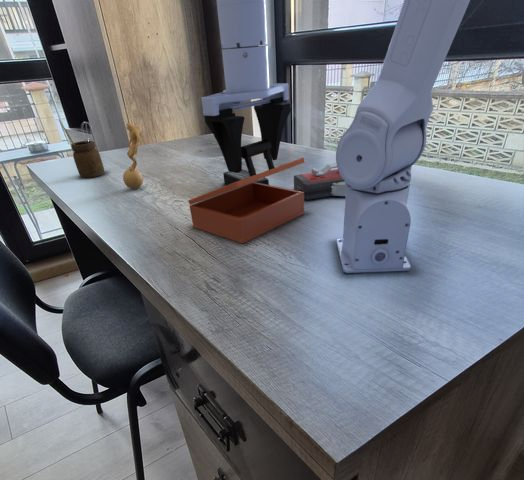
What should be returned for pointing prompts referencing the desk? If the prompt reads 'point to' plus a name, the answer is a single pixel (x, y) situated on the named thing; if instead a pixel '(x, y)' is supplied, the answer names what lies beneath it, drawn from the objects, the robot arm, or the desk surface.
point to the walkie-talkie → (320, 183)
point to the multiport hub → (241, 177)
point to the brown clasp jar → (86, 157)
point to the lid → (251, 168)
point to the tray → (247, 211)
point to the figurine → (133, 158)
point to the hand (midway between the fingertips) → (253, 165)
